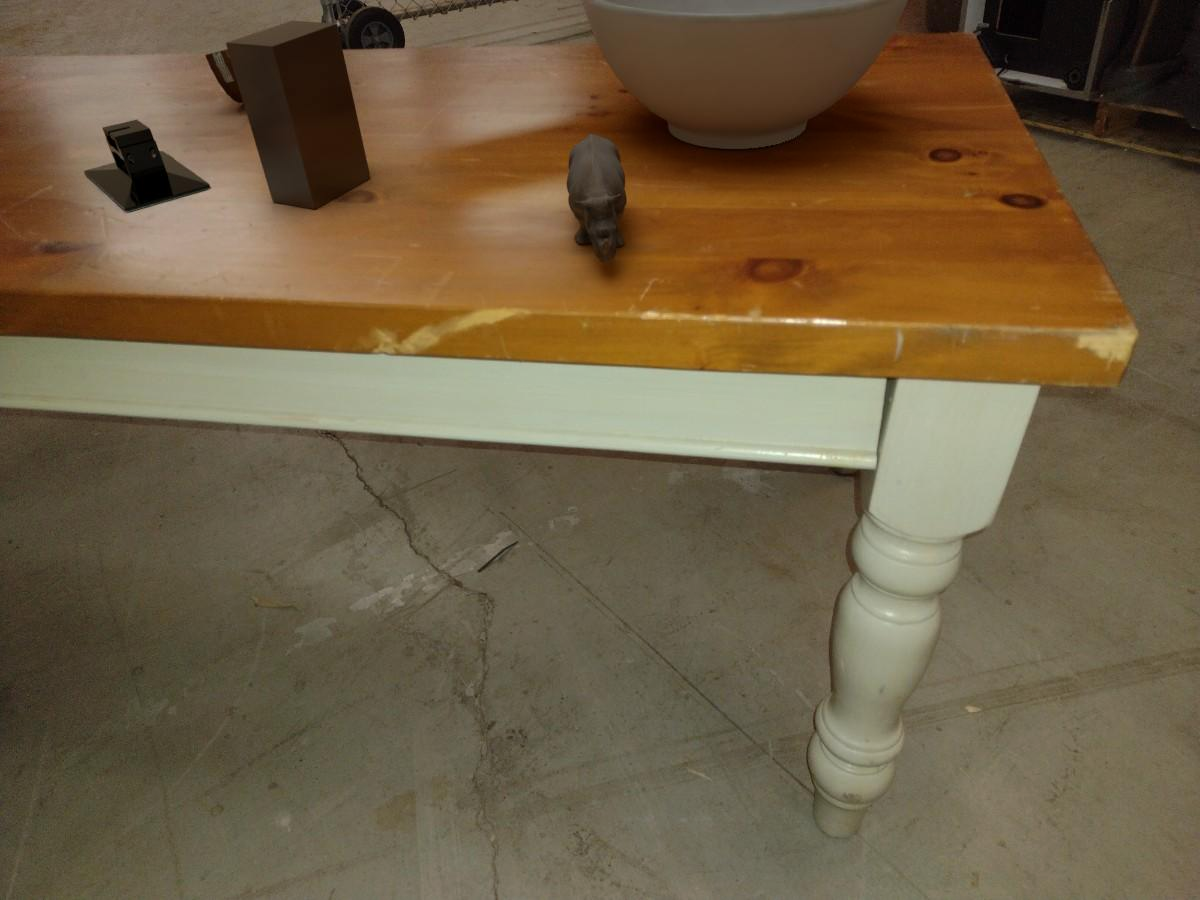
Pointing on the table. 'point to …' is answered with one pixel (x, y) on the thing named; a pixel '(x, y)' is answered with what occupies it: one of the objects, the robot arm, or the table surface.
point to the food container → (225, 73)
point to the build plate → (141, 170)
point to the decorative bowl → (740, 61)
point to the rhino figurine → (597, 194)
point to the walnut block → (301, 111)
